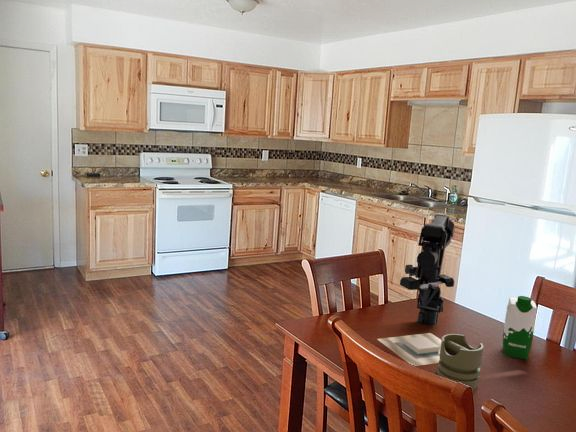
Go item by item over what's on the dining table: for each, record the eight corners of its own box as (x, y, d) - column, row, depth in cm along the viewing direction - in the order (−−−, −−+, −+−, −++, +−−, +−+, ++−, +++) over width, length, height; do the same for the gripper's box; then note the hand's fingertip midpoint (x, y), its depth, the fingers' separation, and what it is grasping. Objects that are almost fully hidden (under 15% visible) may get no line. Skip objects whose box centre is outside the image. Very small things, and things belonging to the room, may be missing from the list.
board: (429, 336, 177) (430, 332, 177) (470, 361, 159) (470, 358, 159) (376, 342, 169) (376, 339, 168) (412, 370, 151) (413, 366, 150)
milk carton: (501, 356, 165) (510, 297, 161) (499, 345, 173) (508, 289, 170) (530, 361, 162) (540, 302, 159) (527, 350, 171) (536, 294, 167)
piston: (466, 353, 136) (433, 337, 145) (460, 394, 138) (428, 376, 147) (491, 346, 142) (458, 331, 152) (485, 385, 144) (453, 368, 154)
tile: (423, 336, 168) (403, 338, 165) (439, 346, 161) (419, 349, 158) (423, 342, 169) (403, 344, 166) (438, 352, 161) (418, 355, 158)
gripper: (436, 254, 180) (431, 296, 183) (392, 256, 173) (388, 300, 176) (458, 263, 170) (452, 307, 173) (412, 265, 163) (407, 311, 166)
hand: (424, 306), depth 172 cm, fingers closed
